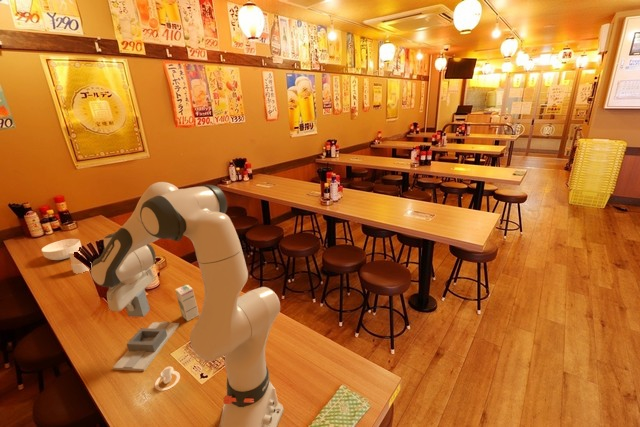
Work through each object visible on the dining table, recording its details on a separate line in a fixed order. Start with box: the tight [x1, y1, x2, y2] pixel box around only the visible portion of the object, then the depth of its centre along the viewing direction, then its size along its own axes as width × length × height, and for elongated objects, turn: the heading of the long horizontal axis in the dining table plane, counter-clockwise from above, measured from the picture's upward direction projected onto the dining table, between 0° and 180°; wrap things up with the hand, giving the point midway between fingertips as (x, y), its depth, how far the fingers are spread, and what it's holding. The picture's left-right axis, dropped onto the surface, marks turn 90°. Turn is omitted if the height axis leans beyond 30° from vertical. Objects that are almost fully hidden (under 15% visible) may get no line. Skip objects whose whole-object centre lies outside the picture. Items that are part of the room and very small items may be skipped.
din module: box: [124, 289, 151, 318], centre depth 113 cm, size 4×7×9 cm, turn 85°
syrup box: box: [175, 283, 200, 322], centre depth 134 cm, size 6×6×14 cm
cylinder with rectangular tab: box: [68, 250, 90, 275], centre depth 178 cm, size 9×9×12 cm
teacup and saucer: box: [154, 366, 181, 392], centre depth 104 cm, size 9×8×4 cm
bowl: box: [40, 238, 82, 261], centre depth 198 cm, size 20×20×8 cm
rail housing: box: [112, 321, 180, 372], centre depth 120 cm, size 24×12×4 cm, turn 175°
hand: (137, 305), depth 114 cm, fingers closed on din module, 4 cm apart
